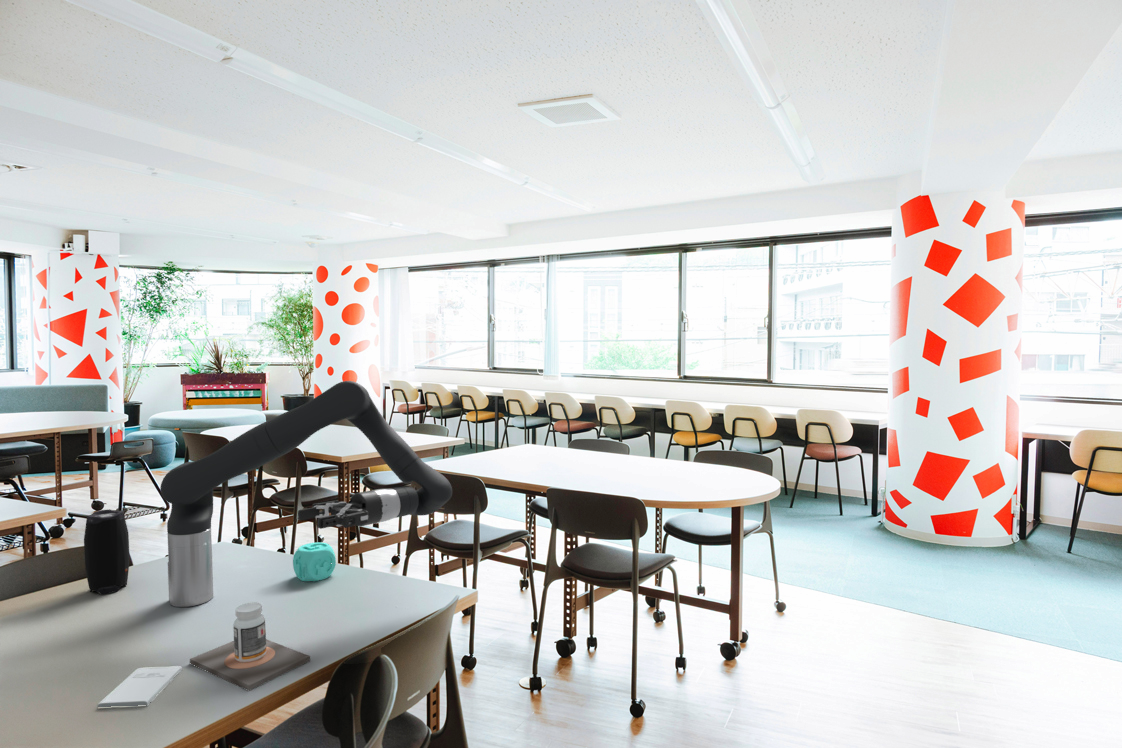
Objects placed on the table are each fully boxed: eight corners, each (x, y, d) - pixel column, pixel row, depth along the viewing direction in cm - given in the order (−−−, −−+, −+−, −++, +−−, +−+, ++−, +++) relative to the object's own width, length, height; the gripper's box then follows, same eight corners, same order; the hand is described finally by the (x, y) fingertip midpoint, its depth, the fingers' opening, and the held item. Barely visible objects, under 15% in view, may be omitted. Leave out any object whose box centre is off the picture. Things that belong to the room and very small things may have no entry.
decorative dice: (292, 577, 177) (292, 547, 177) (320, 569, 183) (320, 540, 183) (308, 584, 172) (307, 553, 172) (336, 575, 178) (335, 546, 178)
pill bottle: (272, 650, 133) (270, 601, 133) (256, 664, 128) (254, 613, 127) (245, 649, 134) (243, 600, 133) (228, 662, 128) (226, 612, 128)
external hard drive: (97, 712, 115) (137, 675, 127) (147, 709, 115) (182, 673, 128) (97, 703, 115) (136, 667, 127) (147, 700, 115) (181, 664, 128)
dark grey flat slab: (189, 663, 130) (189, 658, 130) (251, 638, 141) (251, 633, 141) (249, 690, 120) (249, 684, 120) (310, 660, 131) (310, 655, 131)
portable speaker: (138, 584, 172) (135, 509, 171) (104, 598, 163) (100, 519, 162) (112, 580, 175) (109, 506, 173) (77, 594, 166) (74, 516, 164)
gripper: (358, 485, 158) (292, 496, 146) (393, 495, 149) (325, 508, 137) (358, 516, 159) (292, 529, 147) (392, 529, 149) (325, 544, 137)
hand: (308, 519), depth 142 cm, fingers open, 8 cm apart
